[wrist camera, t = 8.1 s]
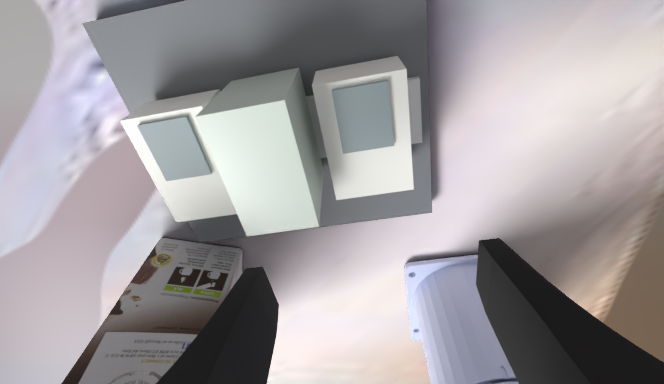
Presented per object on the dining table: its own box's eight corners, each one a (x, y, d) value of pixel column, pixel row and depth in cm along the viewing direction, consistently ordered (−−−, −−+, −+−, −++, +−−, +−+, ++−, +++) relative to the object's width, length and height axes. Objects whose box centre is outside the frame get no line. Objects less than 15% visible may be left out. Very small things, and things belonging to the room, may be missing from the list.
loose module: (323, 172, 20) (319, 226, 15) (266, 181, 20) (246, 236, 16) (299, 67, 16) (284, 99, 12) (231, 81, 17) (194, 116, 13)
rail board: (428, 203, 22) (444, 246, 19) (203, 233, 24) (180, 277, 21) (420, -52, 15) (445, -59, 11) (95, 20, 17) (29, 33, 13)
